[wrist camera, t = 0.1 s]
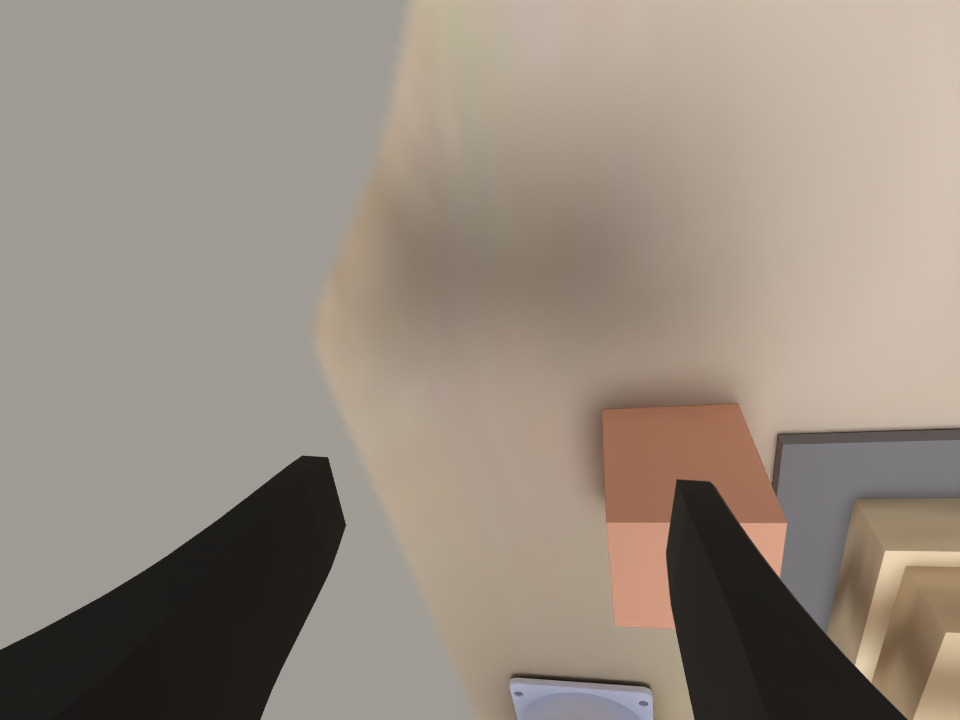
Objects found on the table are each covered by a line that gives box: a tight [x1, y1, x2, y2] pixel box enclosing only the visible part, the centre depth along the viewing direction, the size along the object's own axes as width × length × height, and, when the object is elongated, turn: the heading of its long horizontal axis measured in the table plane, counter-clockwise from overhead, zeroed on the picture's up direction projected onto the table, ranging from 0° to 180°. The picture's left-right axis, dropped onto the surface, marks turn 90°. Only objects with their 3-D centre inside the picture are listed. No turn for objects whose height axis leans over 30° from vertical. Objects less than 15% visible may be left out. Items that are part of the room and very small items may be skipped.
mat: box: [772, 429, 960, 633], centre depth 22 cm, size 14×12×1 cm
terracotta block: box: [602, 404, 787, 629], centre depth 20 cm, size 5×5×6 cm
